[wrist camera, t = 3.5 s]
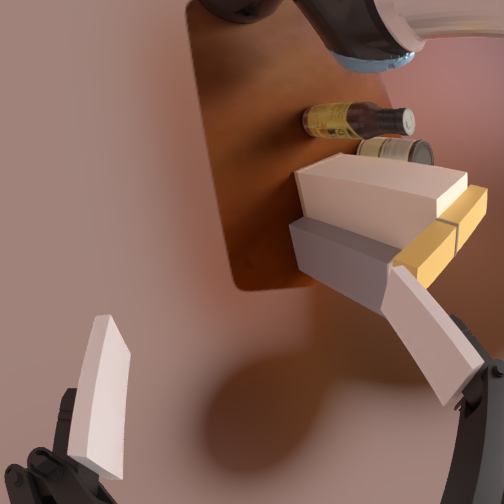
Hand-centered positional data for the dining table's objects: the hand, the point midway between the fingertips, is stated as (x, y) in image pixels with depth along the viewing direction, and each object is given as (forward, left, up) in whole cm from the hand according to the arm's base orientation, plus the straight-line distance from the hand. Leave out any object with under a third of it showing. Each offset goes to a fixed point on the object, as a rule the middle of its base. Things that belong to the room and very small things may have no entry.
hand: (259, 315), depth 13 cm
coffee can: (-37, +32, -32) cm, 58 cm away
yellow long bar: (-20, +23, -5) cm, 30 cm away
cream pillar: (-23, +25, -32) cm, 46 cm away
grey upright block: (-15, +31, -32) cm, 47 cm away
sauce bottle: (-30, +15, -32) cm, 46 cm away
